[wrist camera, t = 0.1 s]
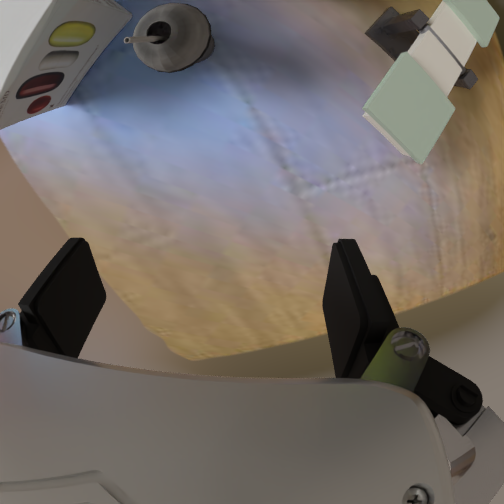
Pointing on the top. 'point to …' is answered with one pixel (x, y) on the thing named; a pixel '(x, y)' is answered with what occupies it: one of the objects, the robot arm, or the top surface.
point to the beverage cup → (172, 37)
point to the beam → (429, 77)
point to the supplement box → (50, 51)
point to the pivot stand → (406, 37)
